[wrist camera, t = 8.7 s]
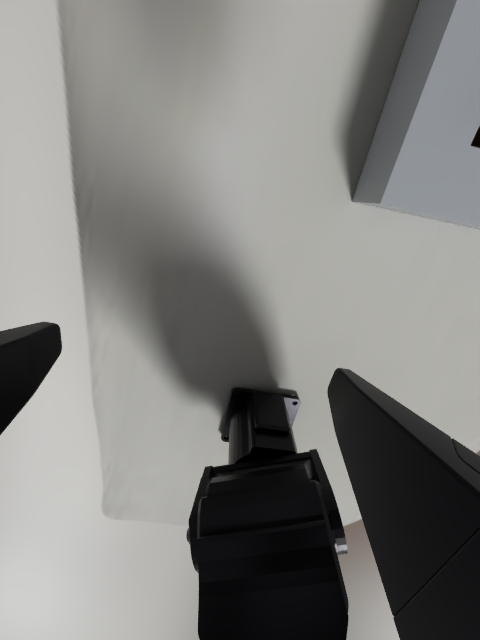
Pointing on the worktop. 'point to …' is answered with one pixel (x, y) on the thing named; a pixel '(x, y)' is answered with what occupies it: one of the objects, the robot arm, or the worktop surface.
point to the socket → (431, 121)
